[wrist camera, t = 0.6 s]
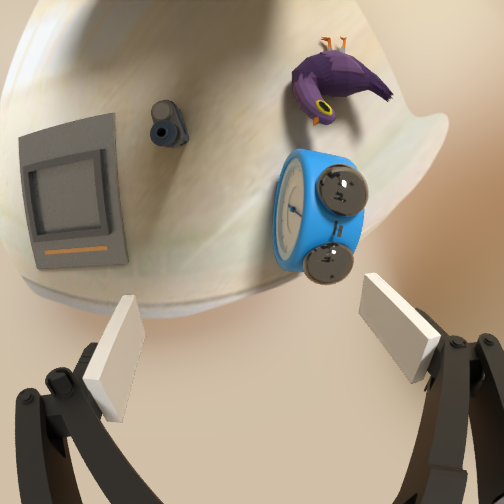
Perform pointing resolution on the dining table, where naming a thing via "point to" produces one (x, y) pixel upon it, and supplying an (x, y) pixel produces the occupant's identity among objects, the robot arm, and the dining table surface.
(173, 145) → the vaping device
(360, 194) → the alarm clock
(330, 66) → the toy
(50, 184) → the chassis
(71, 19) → the dining table surface
